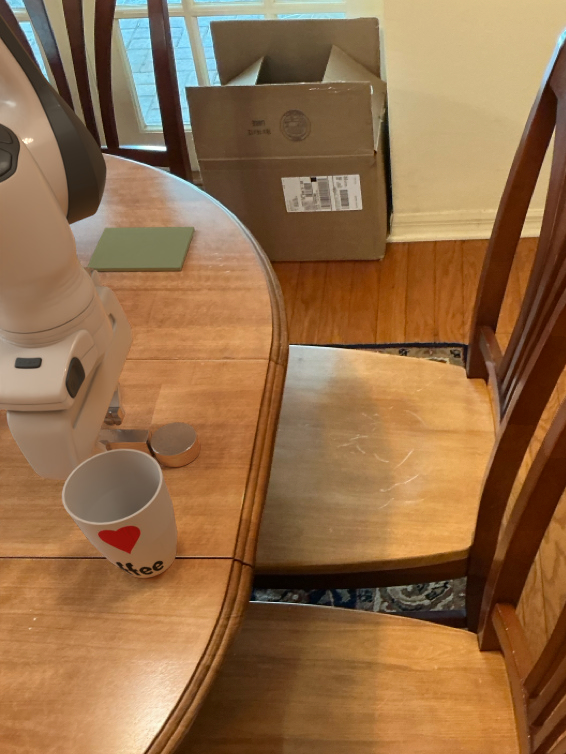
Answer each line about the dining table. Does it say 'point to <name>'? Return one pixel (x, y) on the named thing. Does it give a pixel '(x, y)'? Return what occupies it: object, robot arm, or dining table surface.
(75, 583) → the dining table surface
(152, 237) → the placemat
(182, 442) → the spoon
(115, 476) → the cup
